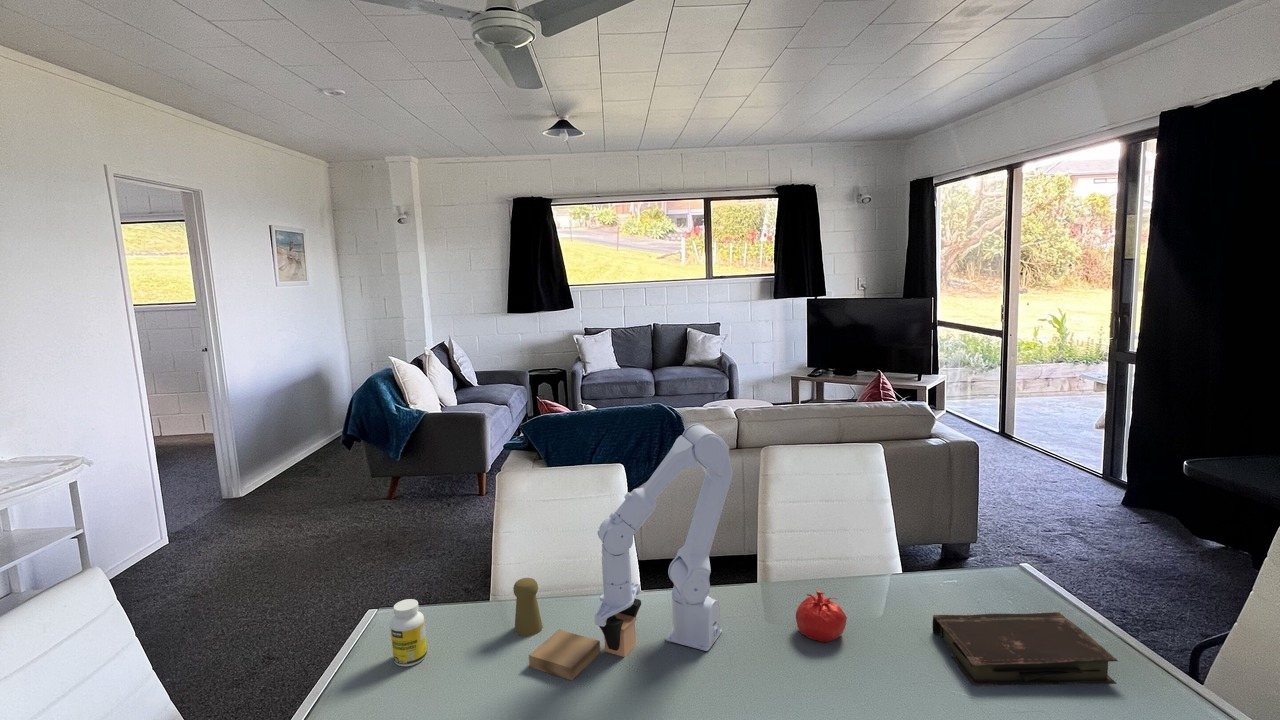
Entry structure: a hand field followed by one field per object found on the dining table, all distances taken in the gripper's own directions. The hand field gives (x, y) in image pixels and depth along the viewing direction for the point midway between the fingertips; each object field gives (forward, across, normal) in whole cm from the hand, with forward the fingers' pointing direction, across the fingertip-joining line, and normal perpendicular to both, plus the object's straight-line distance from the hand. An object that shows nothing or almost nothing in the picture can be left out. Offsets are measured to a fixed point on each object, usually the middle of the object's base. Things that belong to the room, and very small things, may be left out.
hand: (620, 641), depth 133 cm
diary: (+2, -30, +70) cm, 76 cm away
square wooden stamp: (+1, 0, 0) cm, 1 cm away
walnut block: (+1, +8, -8) cm, 11 cm away
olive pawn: (+2, +2, -22) cm, 22 cm away
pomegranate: (+2, -22, +35) cm, 41 cm away
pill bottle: (+2, +21, -37) cm, 43 cm away
